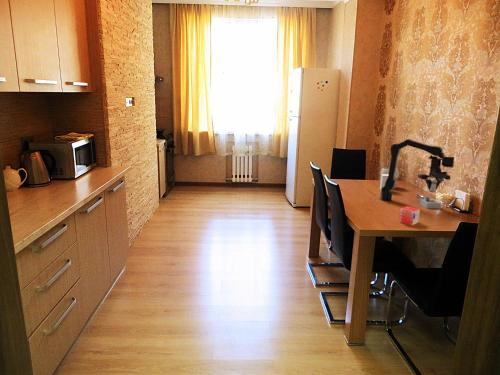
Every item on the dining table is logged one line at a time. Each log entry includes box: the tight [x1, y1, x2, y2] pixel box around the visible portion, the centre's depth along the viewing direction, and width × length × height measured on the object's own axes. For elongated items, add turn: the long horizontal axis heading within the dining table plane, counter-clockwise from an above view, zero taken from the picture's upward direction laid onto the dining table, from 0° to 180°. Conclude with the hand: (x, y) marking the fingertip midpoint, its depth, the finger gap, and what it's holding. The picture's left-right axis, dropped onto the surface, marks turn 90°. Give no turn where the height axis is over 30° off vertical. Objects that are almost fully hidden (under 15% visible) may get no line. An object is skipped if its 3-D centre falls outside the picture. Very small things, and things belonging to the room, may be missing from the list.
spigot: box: [428, 179, 438, 193], centre depth 238 cm, size 5×5×8 cm
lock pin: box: [415, 192, 427, 200], centre depth 253 cm, size 3×11×3 cm, turn 0°
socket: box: [419, 198, 442, 209], centre depth 242 cm, size 9×12×4 cm
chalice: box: [380, 166, 400, 189], centre depth 297 cm, size 14×14×15 cm
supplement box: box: [379, 173, 389, 191], centre depth 283 cm, size 7×7×13 cm
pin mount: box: [417, 195, 431, 203], centre depth 250 cm, size 5×5×4 cm
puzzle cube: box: [398, 206, 421, 226], centre depth 207 cm, size 8×8×8 cm
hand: (432, 189), depth 239 cm, fingers closed on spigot, 4 cm apart
